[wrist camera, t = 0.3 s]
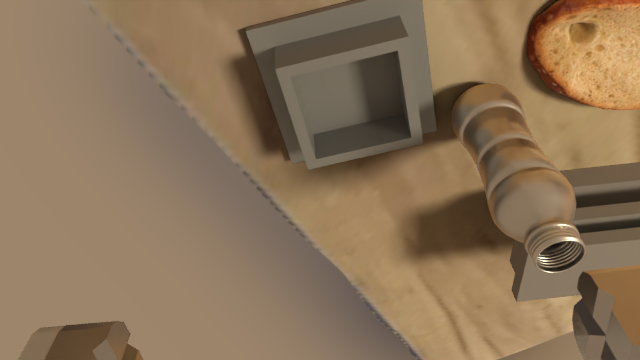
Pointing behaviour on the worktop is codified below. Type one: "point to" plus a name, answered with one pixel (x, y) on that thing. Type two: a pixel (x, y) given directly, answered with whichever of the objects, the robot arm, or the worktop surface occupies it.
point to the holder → (347, 79)
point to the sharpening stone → (590, 231)
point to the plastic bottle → (519, 178)
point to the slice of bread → (589, 51)
